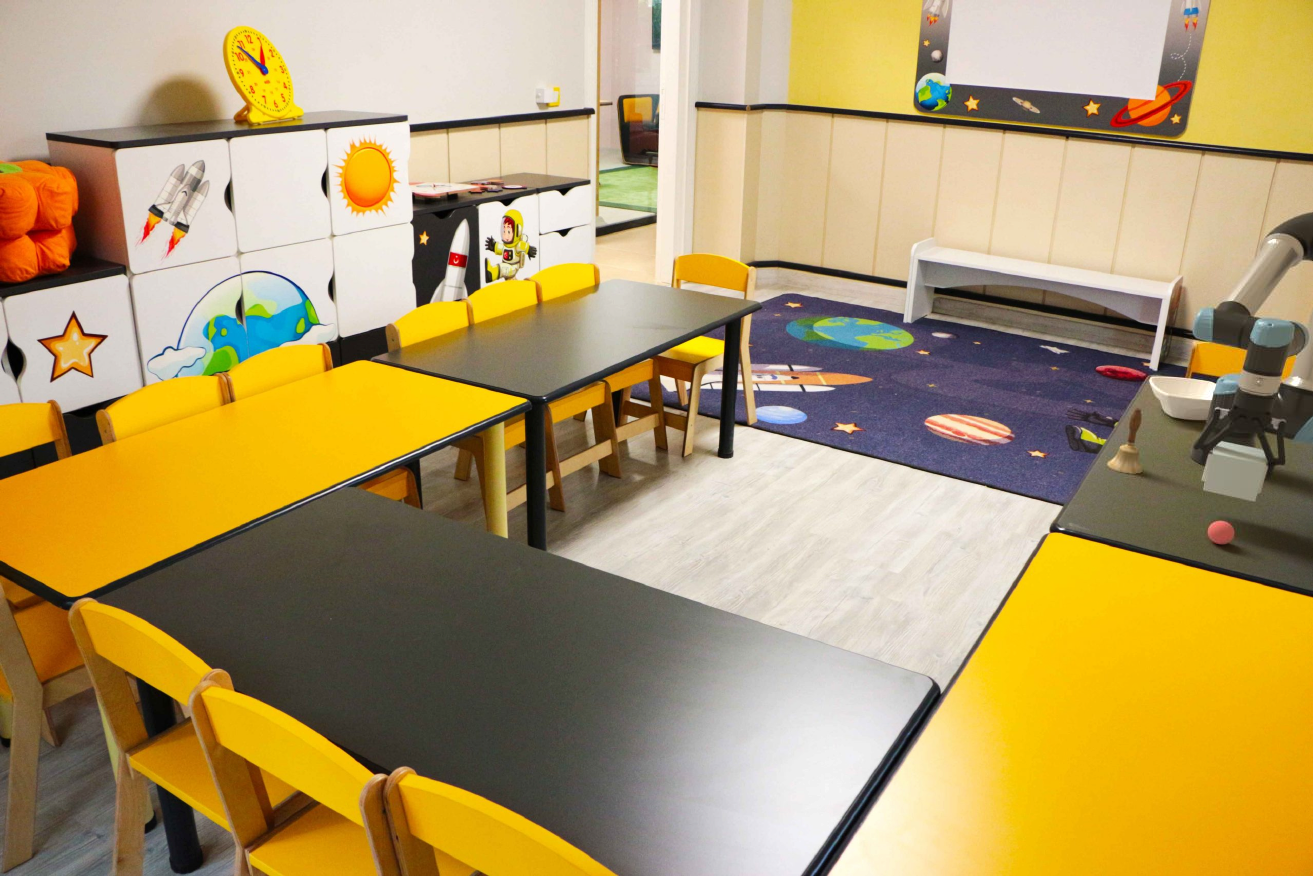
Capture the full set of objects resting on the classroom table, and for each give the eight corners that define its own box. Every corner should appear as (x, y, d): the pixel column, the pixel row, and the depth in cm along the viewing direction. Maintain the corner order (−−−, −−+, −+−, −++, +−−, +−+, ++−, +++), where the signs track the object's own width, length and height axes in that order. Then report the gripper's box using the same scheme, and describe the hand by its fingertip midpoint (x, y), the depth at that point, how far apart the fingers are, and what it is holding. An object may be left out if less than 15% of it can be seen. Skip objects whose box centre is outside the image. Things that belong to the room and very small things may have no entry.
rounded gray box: (1206, 475, 234) (1215, 440, 231) (1256, 486, 229) (1266, 450, 226) (1203, 490, 226) (1212, 453, 222) (1255, 501, 221) (1265, 464, 218)
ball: (1214, 535, 222) (1220, 515, 220) (1236, 545, 218) (1242, 524, 216) (1200, 540, 219) (1205, 519, 218) (1222, 550, 215) (1227, 529, 214)
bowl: (1156, 424, 288) (1163, 396, 285) (1136, 401, 307) (1142, 374, 304) (1233, 431, 286) (1241, 402, 282) (1209, 407, 305) (1216, 380, 301)
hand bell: (1146, 476, 252) (1160, 415, 247) (1110, 472, 254) (1124, 412, 248) (1138, 463, 260) (1152, 404, 254) (1104, 459, 261) (1116, 401, 256)
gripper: (1197, 384, 221) (1173, 478, 229) (1318, 406, 211) (1289, 503, 219) (1199, 376, 228) (1176, 467, 235) (1317, 397, 217) (1289, 492, 225)
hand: (1230, 485), depth 227 cm, fingers closed on rounded gray box, 10 cm apart
